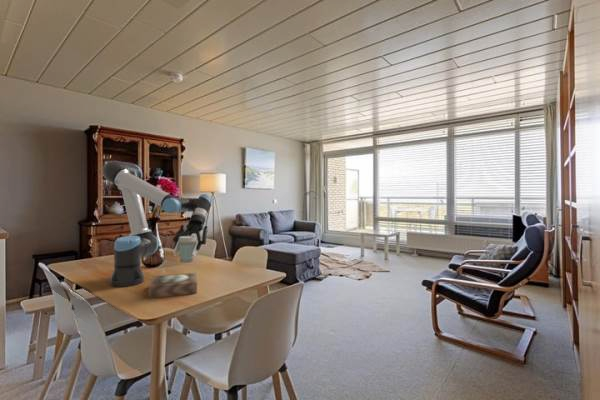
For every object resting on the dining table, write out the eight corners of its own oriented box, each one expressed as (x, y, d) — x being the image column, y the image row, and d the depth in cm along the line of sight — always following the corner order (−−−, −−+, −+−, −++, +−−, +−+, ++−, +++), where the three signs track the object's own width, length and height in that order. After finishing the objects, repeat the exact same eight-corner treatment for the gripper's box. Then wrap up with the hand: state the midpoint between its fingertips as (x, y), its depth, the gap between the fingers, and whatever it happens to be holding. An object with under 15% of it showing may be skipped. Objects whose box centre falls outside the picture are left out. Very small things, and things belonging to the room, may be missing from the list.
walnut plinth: (148, 297, 131) (148, 285, 131) (153, 286, 147) (153, 275, 147) (196, 293, 138) (196, 281, 138) (195, 282, 155) (195, 272, 155)
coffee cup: (190, 264, 139) (190, 238, 139) (173, 262, 141) (174, 237, 141) (199, 260, 148) (200, 236, 147) (183, 258, 149) (184, 235, 149)
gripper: (219, 223, 159) (207, 260, 143) (180, 222, 160) (164, 258, 144) (216, 214, 153) (203, 251, 138) (176, 213, 154) (159, 249, 139)
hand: (184, 254), depth 141 cm, fingers closed on coffee cup, 8 cm apart
